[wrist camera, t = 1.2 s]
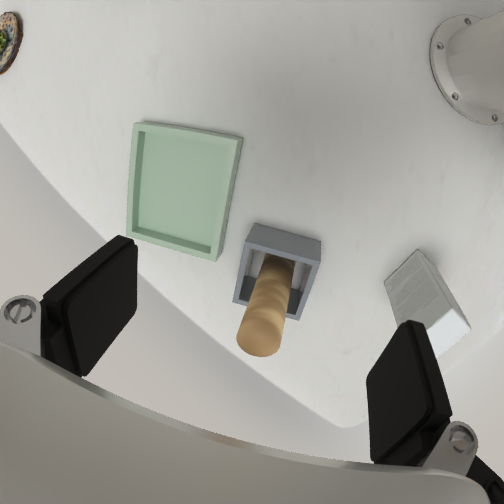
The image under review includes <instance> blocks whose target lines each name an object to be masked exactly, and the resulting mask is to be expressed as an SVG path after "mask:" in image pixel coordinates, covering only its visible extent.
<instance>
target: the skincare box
mask: <svg viewBox="0 0 504 504" xmlns="http://www.w3.org/2000/svg"><path fill="white" fill-rule="evenodd" d="M384 284H385V287H386V290H387V293H388V296H389V300H390V303H391V306H392V310H393V313H394V316H395V320H396V323H397V327H399V325H400V324H401V323H402V322H406V321H407V320H409V319H410V320H414V321H417V322H421V323H423V324H424V326H425V328H426V331H427V334H428V337H429V339H430V342H431V345H432V348H433V351H434V354H435V357H436V358H438V357H439V356H440V355H441V354H443V353H444V352H445V351H446V350H448V349H449V348H450V347H451V346H453V345H454V344H455V343H456V342H457V341H459V340H460V339H461V338H462V337H463V336H464V335H466V334H467V333H468V332H469V331H470V330H471V326H470V325H469V323H468V321H467V319H466V317H465V315H464V314H463V312H462V310H461V308H460V306H459V305H458V303H457V301H456V300H455V298H454V296H453V294H452V293H451V291H450V289H449V288H448V286H447V284H446V283H445V281H444V279H443V278H442V276H441V275H440V273H439V271H438V270H437V268H436V267H435V266H434V265H433V264H432V263H431V262H430V261H429V260H428V259H427V258H426V257H425V256H424V255H423V254H422V253H421V252H420V251H419V250H416V251H415V252H414V253H413V254H412V255H411V256H410V257H409V258H408V260H407V261H406V262H405V263H404V264H403V265H401V266H400V267H399V268H398V269H397V270H396V271H395V272H394V273H393V274H392V275H391V276H390V277H389V278H388V279H387V280H386V281H385V282H384Z"/></svg>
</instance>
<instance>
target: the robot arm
mask: <svg viewBox="0 0 504 504" xmlns="http://www.w3.org/2000/svg"><path fill="white" fill-rule="evenodd" d="M437 45H438V46H439V49H438V47H437ZM430 59H431V67H432V70H433V74H434V77H435V80H436V82H437V84H438V86H439V88H440V90H441V92H442V93H443V95H444V96H445V98H446V99H447V100H448V102H449V103H450V104H451V105H452V106H453V107H454V108H455V109H456V110H457V111H458V112H459V113H460V114H462V115H463V116H465V117H466V118H468V119H470V120H472V121H475V122H477V123H481V124H486V125H497V124H502V123H504V11H502V12H500V13H497V14H495V15H492V16H490V17H488V18H485V19H483V20H482V19H480V18H477V17H474V16H468V15H460V16H454V17H452V18H450V19H448V20H446V21H445V22H443V23H442V24H441V25H440V26H439V27H438V28H437V30H436V31H435V33H434V36H433V38H432V42H431V46H430ZM452 94H453V96H454V98H452ZM137 261H138V247H137V245H135V243H134V240H133V239H130V238H127V237H124V236H121V235H117V236H116V237H114V238H113V239H112V240H110V241H109V242H108V243H106V244H105V245H104V246H103V247H101V248H100V249H99V250H97V251H96V252H95V253H94V254H92V255H91V256H90V257H88V258H87V259H86V260H85V261H83V262H82V263H81V264H80V265H78V266H77V267H76V268H75V269H73V270H72V271H71V272H70V273H69V274H67V275H66V276H65V277H64V278H63V279H61V280H60V281H59V282H58V283H57V284H55V285H54V286H53V287H52V288H51V289H50V290H48V291H47V292H46V293H45V294H44V295H43V298H44V299H42V300H41V301H40V302H39V301H38V300H37V299H35V298H34V297H31V296H28V295H20V296H15V297H13V298H11V299H9V300H8V301H6V302H5V303H4V304H3V306H2V307H1V310H0V504H504V482H503V480H502V479H501V478H500V477H499V476H498V475H497V474H496V473H495V472H494V471H492V470H491V469H490V468H489V467H488V466H487V465H486V464H485V463H484V462H483V461H482V460H481V459H480V458H478V457H477V456H476V452H477V449H478V439H477V436H476V434H475V433H474V431H473V429H472V428H471V427H470V426H469V425H467V424H465V423H464V422H460V421H454V422H450V417H451V416H452V410H451V406H450V403H449V399H448V396H447V392H446V389H445V385H444V382H443V379H442V375H441V372H440V369H439V366H438V363H437V360H436V357H435V354H434V351H433V348H432V345H431V342H430V339H429V337H428V334H427V331H426V328H425V326H424V324H423V323H421V322H417V321H414V320H410V319H409V320H407V321H406V322H402V323H401V324H400V325H399V327H398V329H397V330H396V332H395V333H394V335H393V337H392V338H391V340H390V342H389V343H388V345H387V346H386V348H385V349H384V351H383V353H382V354H381V356H380V357H379V359H378V360H377V362H376V363H375V365H374V366H373V368H372V369H371V371H370V372H369V374H368V376H367V379H366V387H367V399H368V414H369V432H370V458H371V460H372V461H374V464H369V463H360V462H351V461H343V460H335V459H328V458H322V457H315V456H309V455H304V454H299V453H293V452H288V451H284V450H279V449H274V448H270V447H266V446H261V445H257V444H253V443H249V442H245V441H242V440H237V439H234V438H231V437H227V436H223V435H221V434H217V433H214V432H211V431H207V430H205V429H201V428H198V427H195V426H192V425H190V424H186V423H184V422H181V421H178V420H176V419H173V418H170V417H167V416H165V415H162V414H159V413H157V412H154V411H152V410H150V409H147V408H145V407H142V406H140V405H138V404H135V403H133V402H131V401H128V400H126V399H124V398H122V397H119V396H117V395H115V394H113V393H111V392H109V391H107V390H105V389H102V388H100V387H98V386H96V385H94V384H92V383H90V382H88V381H86V380H84V379H82V378H81V377H82V376H87V375H88V374H89V373H90V371H91V370H92V369H93V367H94V366H95V364H96V363H97V361H99V359H100V358H101V357H102V355H103V354H104V353H105V351H106V350H107V348H108V347H109V346H110V345H111V344H112V342H113V341H114V340H115V338H116V337H117V336H118V334H119V333H120V332H121V331H122V329H123V328H124V327H125V325H126V324H127V323H128V322H129V320H130V319H131V318H132V317H133V315H134V314H135V311H136V309H137Z"/></svg>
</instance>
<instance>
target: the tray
mask: <svg viewBox="0 0 504 504" xmlns="http://www.w3.org/2000/svg"><path fill="white" fill-rule="evenodd" d="M242 142H243V138H241V137H236V136H231V135H226V134H221V133H215V132H210V131H205V130H199V129H193V128H187V127H181V126H174V125H168V124H161V123H154V122H146V121H143V122H137V123H134V124H133V132H132V142H131V153H130V165H129V179H128V197H127V229H126V236H129V237H132V238H136V239H139V240H142V241H146V242H149V243H152V244H156V245H159V246H163V247H166V248H169V249H173V250H176V251H180V252H183V253H186V254H190V255H193V256H197V257H200V258H204V259H207V260H211V261H214V262H216V261H217V259H218V258H219V256H220V255H221V253H222V248H223V243H224V237H225V231H226V226H227V220H228V215H229V209H230V204H231V198H232V193H233V188H234V182H235V177H236V172H237V167H238V162H239V157H240V152H241V147H242Z"/></svg>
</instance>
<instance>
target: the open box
mask: <svg viewBox="0 0 504 504" xmlns="http://www.w3.org/2000/svg"><path fill="white" fill-rule="evenodd" d="M254 249H255V250H258V251H262V252H265V253H269V254H273V255H276V256H280V257H284V258H287V259H291V260H295V261H298V262H302V263H305V264H308V265H307V268H306V271H305V274H304V277H303V280H302V283H301V286H300V288H299V291H298V290H294V289H290V295H289V300H288V306H287V311H286V317H287V318H291V319H295V320H299V319H300V317H301V314H302V312H303V309H304V306H305V304H306V301H307V298H308V295H309V293H310V290H311V287H312V284H313V282H314V279H315V276H316V273H317V270H318V268H319V265H320V257H321V241H318V240H314V239H310V238H307V237H303V236H300V235H296V234H292V233H289V232H285V231H281V230H278V229H274V228H270V227H267V226H263V225H259V224H256V223H255V224H254V226H253V228H252V229H251V231H250V233H249V235H248V237H247V239H246V241H245V244H244V249H243V254H242V258H241V263H240V268H239V273H238V278H237V282H236V287H235V292H234V297H233V301H232V302H234V303H237V304H241V305H244V306H248V303H249V300H250V297H251V295H252V292H253V289H254V286H255V284H256V281H257V279H255V278H251V277H248V274H249V270H250V265H251V261H252V257H253V252H254Z"/></svg>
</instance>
